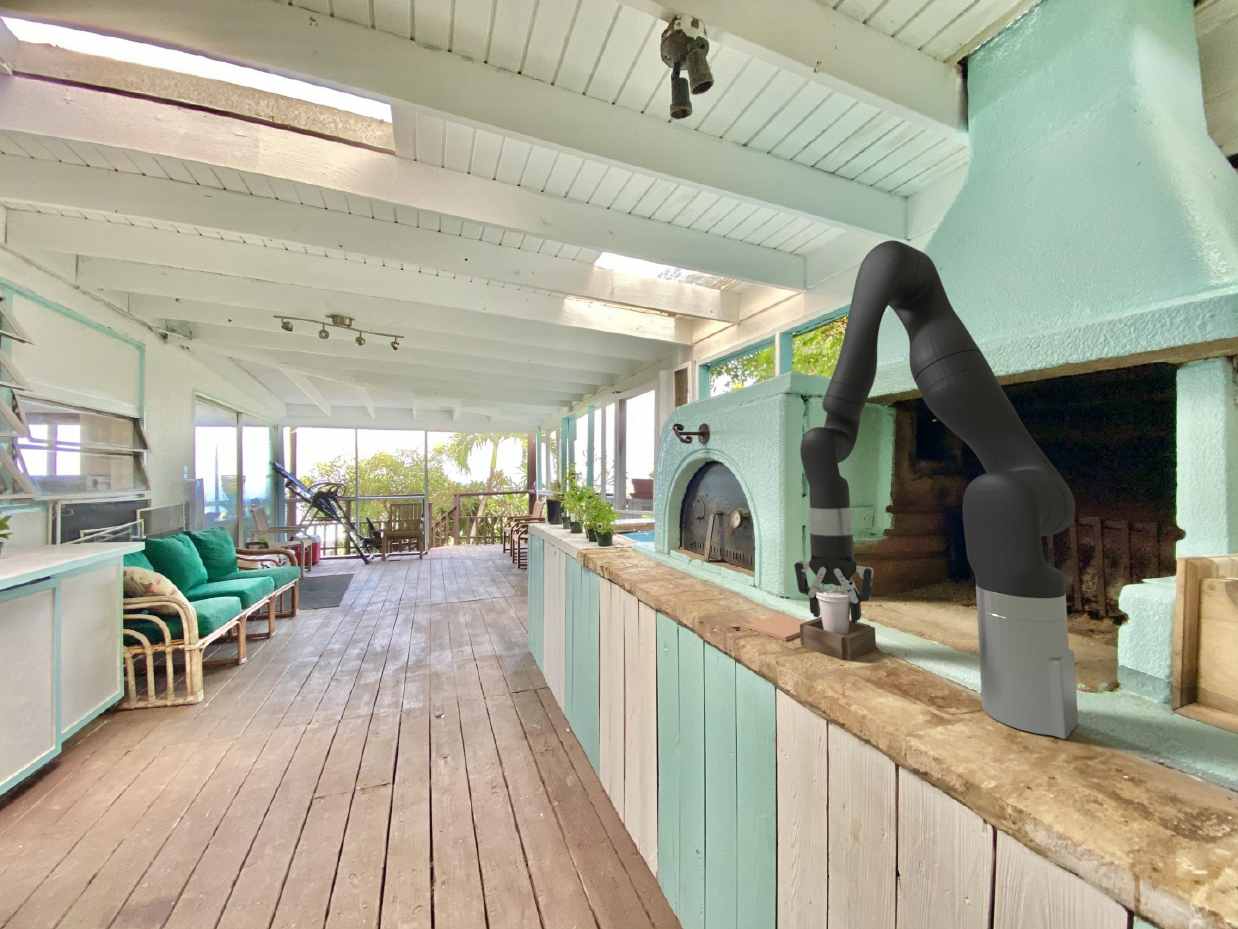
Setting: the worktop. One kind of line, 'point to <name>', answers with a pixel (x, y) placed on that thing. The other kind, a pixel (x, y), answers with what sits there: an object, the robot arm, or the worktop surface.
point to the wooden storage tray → (838, 639)
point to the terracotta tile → (777, 627)
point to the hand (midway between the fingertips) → (835, 618)
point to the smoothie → (834, 610)
